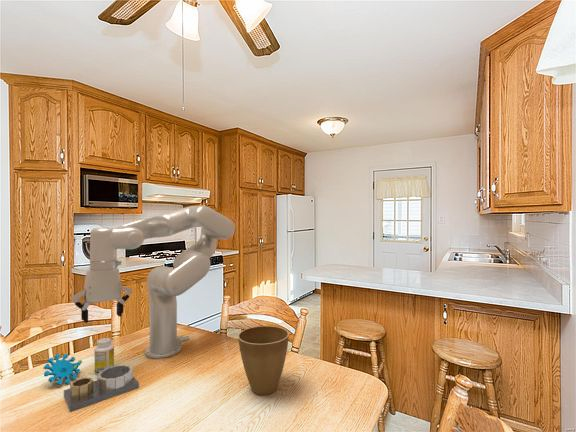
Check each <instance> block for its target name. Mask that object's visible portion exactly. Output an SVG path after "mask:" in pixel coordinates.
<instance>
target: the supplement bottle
mask: <svg viewBox="0 0 576 432" xmlns="http://www.w3.org/2000/svg"><path fill="white" fill-rule="evenodd" d="M93 351H94V354H93V355H94V374H95V375H98V374H99V372H100V371H102V370H104V369H106V368H108V367H112V366H115V346H114V344H113V343H112V338H110V337H103V338H101V339H98V340H97V341H96V346H95V348H94V350H93Z"/></svg>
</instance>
